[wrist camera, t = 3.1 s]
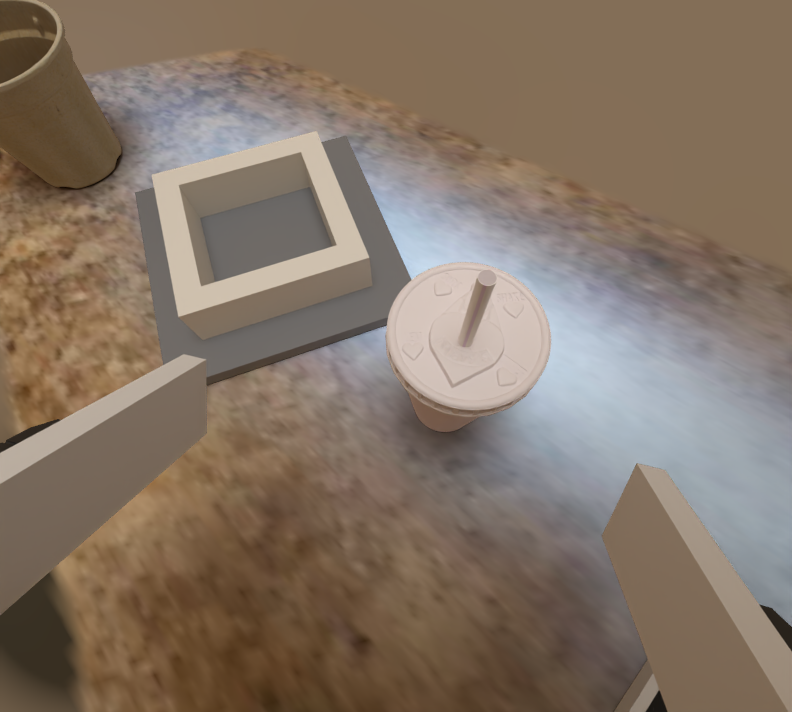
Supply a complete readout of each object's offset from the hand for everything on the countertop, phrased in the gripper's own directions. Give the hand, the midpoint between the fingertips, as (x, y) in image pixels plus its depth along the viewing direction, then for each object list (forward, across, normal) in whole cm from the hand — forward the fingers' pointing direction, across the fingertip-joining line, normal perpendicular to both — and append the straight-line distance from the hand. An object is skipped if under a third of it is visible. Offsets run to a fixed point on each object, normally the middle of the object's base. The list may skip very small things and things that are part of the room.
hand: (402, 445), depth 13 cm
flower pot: (+20, -30, +4) cm, 37 cm away
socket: (+17, -12, +1) cm, 21 cm away
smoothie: (+12, +1, -4) cm, 13 cm away
